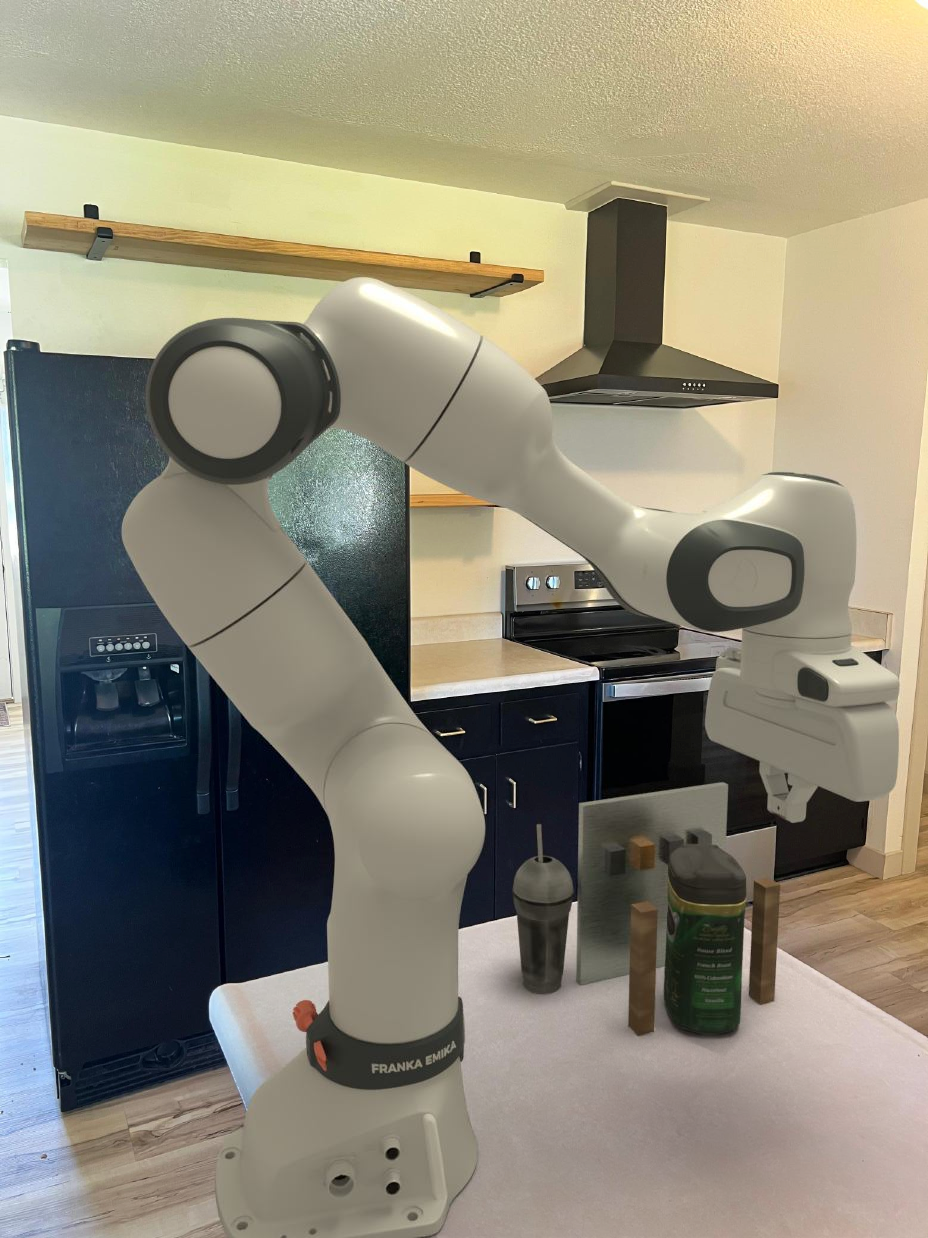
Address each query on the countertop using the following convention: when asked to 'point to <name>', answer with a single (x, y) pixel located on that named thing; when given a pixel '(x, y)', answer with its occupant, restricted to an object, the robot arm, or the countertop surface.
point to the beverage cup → (542, 919)
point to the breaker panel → (635, 867)
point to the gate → (646, 948)
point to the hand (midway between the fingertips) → (786, 816)
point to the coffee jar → (704, 939)
